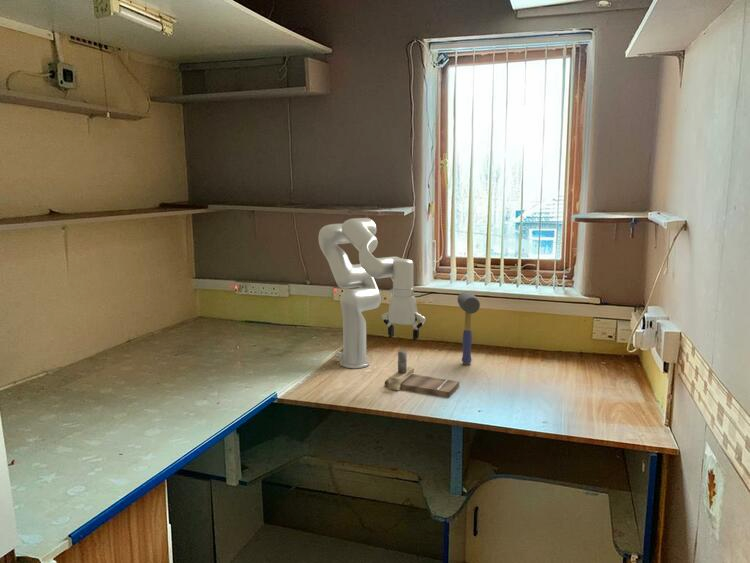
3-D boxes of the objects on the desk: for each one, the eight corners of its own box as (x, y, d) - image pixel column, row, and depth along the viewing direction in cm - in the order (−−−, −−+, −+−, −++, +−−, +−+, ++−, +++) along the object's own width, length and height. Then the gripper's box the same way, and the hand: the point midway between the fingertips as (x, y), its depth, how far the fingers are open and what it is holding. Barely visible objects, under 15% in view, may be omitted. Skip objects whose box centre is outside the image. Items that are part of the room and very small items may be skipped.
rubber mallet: (479, 368, 233) (481, 296, 227) (460, 369, 232) (462, 296, 227) (471, 359, 245) (474, 290, 240) (454, 359, 245) (456, 290, 239)
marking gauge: (388, 388, 210) (388, 357, 208) (404, 375, 223) (404, 346, 221) (398, 390, 208) (398, 358, 206) (413, 377, 222) (414, 347, 219)
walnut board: (384, 386, 213) (384, 381, 212) (397, 376, 224) (397, 371, 223) (449, 397, 202) (449, 391, 202) (459, 386, 213) (459, 381, 213)
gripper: (377, 293, 210) (378, 338, 213) (421, 296, 203) (421, 343, 206) (385, 289, 217) (386, 333, 220) (429, 292, 210) (428, 338, 212)
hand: (403, 338), depth 213 cm, fingers open, 9 cm apart
